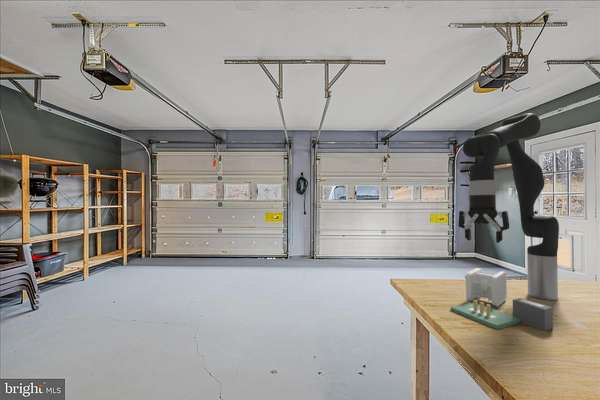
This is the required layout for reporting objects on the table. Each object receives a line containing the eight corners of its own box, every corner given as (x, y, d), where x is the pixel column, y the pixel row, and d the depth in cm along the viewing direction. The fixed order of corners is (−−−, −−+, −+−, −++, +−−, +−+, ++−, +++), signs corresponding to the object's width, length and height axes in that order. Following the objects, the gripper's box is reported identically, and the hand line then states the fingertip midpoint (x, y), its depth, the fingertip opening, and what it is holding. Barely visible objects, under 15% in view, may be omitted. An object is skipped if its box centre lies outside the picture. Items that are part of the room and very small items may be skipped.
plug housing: (520, 317, 92) (520, 297, 92) (552, 328, 84) (552, 307, 84) (512, 319, 90) (512, 299, 90) (544, 331, 82) (544, 309, 82)
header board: (473, 305, 103) (472, 292, 103) (520, 322, 88) (520, 307, 88) (450, 310, 98) (450, 297, 98) (497, 329, 84) (497, 314, 84)
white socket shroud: (496, 310, 98) (496, 278, 98) (464, 302, 106) (464, 272, 106) (507, 300, 108) (507, 270, 108) (477, 293, 116) (476, 266, 116)
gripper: (510, 193, 90) (511, 242, 90) (462, 194, 100) (463, 238, 100) (505, 193, 85) (506, 244, 85) (455, 194, 95) (456, 240, 95)
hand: (483, 241), depth 93 cm, fingers open, 8 cm apart
